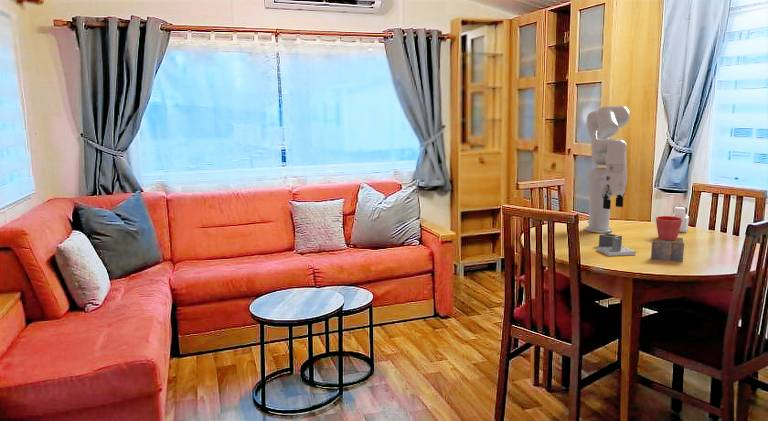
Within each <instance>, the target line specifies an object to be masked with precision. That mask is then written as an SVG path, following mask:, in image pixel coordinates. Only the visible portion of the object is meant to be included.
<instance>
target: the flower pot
mask: <svg viewBox="0 0 768 421" xmlns="http://www.w3.org/2000/svg"><path fill="white" fill-rule="evenodd" d="M672 216H673V215H671V216H668V215H663V216H662V215H661V216H660V215H659V216H657V217H655V220H656V221H655V222H656V229H657V236H658V237H657V238H658V239H660V240H662V241H676V240H677V238H679V237H678V236H679V233H680V232H679V230H680V226H681V223H682V219H681V218H678V217H672Z"/></svg>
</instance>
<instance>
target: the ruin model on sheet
mask: <svg viewBox="0 0 768 421" xmlns="http://www.w3.org/2000/svg"><path fill="white" fill-rule="evenodd" d="M684 249H685V242H684V239H683V237H677V239H676V240H675V241H672V240H658V241H653V240H651V253H650V258H651V259H650V260H657V261H672V262H683V261H684V253H685V252H684Z"/></svg>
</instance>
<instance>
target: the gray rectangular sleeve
mask: <svg viewBox="0 0 768 421" xmlns="http://www.w3.org/2000/svg"><path fill="white" fill-rule="evenodd" d="M598 235H599V238H598V247H611V246H612V242H613V239H614V238H618V239H620V241H621V246H623V245H622V243H623V242H622V240H623V236H622V235H618V234H614V233H613V234H612V233H610V232H608V233H601V234H598Z"/></svg>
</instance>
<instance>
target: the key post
mask: <svg viewBox="0 0 768 421" xmlns="http://www.w3.org/2000/svg"><path fill="white" fill-rule="evenodd" d="M596 251H597V252H600V253H602V254H604V255H605V256H606V257H607V256H608V257H616V256H617V257H619V256H621V257H622V256H636V255H637V251H636V250H634V249H631V248H630V247H627V246H624V245H621V241H620V239H618V238H614V239H613V242H612V246H611V247H601V246H597V249H596Z"/></svg>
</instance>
